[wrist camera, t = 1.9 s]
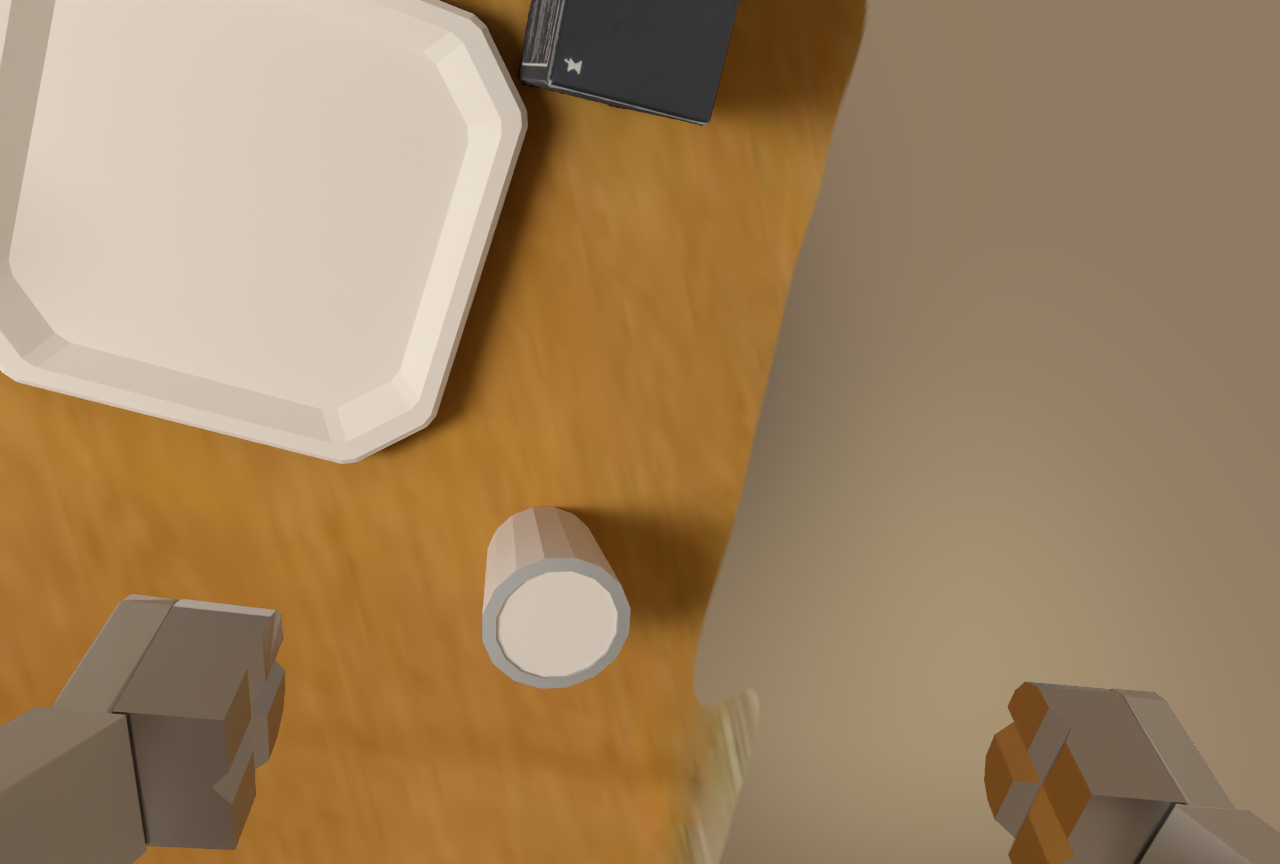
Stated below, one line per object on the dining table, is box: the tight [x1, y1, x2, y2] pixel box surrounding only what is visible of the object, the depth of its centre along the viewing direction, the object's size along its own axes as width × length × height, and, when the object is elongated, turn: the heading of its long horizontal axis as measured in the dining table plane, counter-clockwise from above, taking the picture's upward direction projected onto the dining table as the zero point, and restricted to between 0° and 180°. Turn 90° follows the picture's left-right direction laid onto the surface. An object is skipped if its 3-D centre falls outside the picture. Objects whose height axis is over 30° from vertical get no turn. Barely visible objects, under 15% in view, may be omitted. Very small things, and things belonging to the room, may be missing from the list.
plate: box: [0, 0, 528, 464], centre depth 43 cm, size 21×21×2 cm
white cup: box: [482, 507, 631, 689], centre depth 49 cm, size 7×7×7 cm
